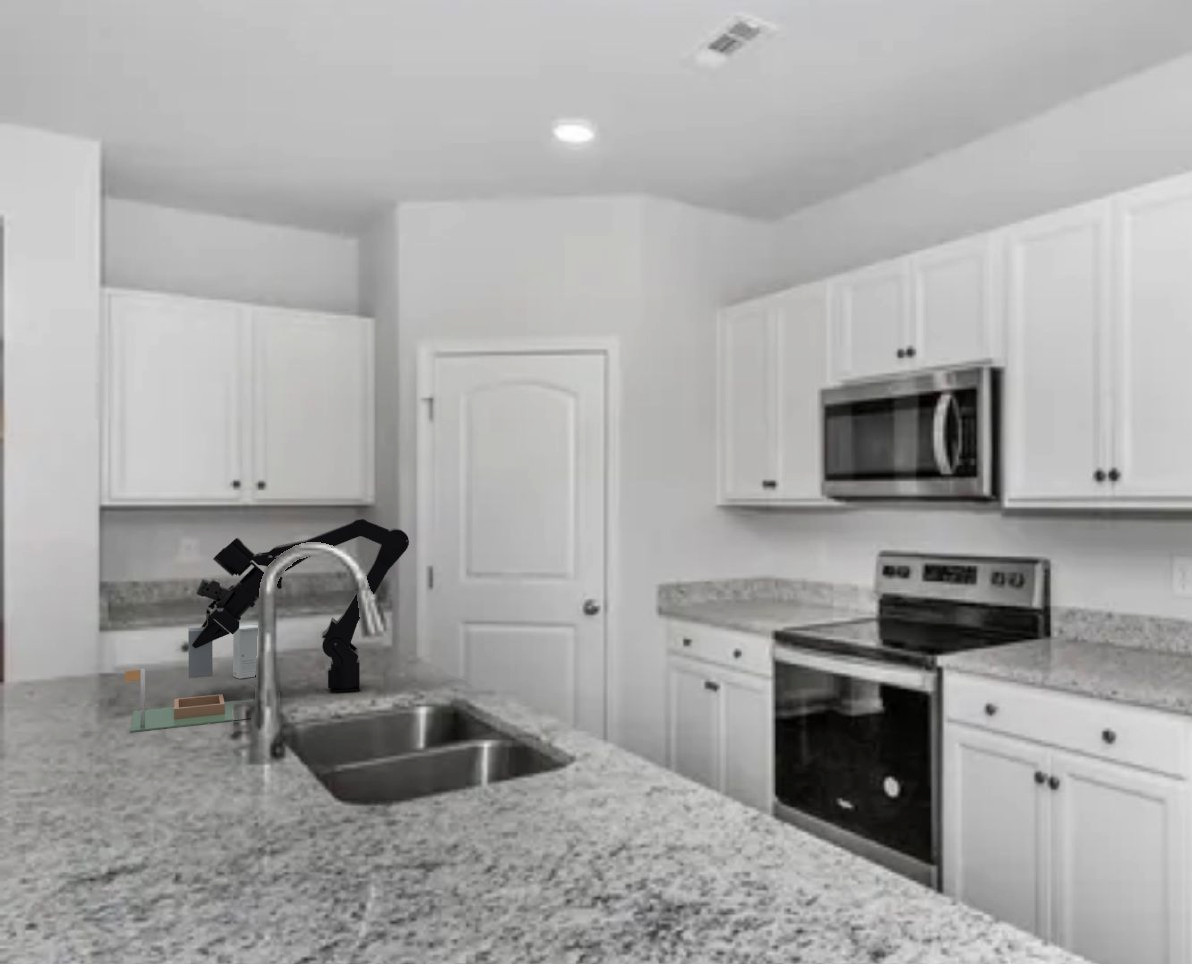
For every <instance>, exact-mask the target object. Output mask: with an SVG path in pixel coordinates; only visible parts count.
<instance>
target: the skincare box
mask: <svg viewBox="0 0 1192 964" xmlns="http://www.w3.org/2000/svg"><path fill="white" fill-rule="evenodd" d="M258 625H259V624H252V625H247V624H246V625H239V629H238V630H237V631H236V632H235V633H234V634H232V635H233V636H232V637H233V640H232V643H233V644H232V645H233V646H232V652H233V653H232V655H233V656H232V660H233V661H232V676H233V677H234V678H236V679H238V680H240V679H247V678H254V677H255V671H256V656H257V636H258ZM255 678H256V677H255Z"/></svg>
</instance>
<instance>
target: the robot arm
mask: <svg viewBox="0 0 1192 964" xmlns="http://www.w3.org/2000/svg"><path fill="white" fill-rule="evenodd" d="M359 537H362V538H365V539H367V540H369V541H371V542H374V543H376V544H378V545H379V547H378V550H377V552H376V555H375V558H374V561H373V563H372V564H371V567H370V568H369V570H368V571H367V573H366V575H365V576H367V580H368V583H369V586H370V589H371V591H372V592H373V594H374V595H375V594H376V592H377V590H378V588H379V587H380V585H381V583H382V582H383V581H384V578H385V577H386V575H387V573H388V571H389V570H390V569H391V568H392V567H393V566H394V565H395V563H396V562H397V561H398V560H399V559H400V558H401V557H402V556H403V554H404V553H405V552H406V551H407V549H408V548H409V545H410V540H409V536H408V535H407V533H406V532H405V531H403V530H402V529H399V528H391V529H389V528H386V527H384V526H380V525H378V524H375V523H373V522H370V521H368V520H367V519H365V518H362V517H358V518H356V519H354V520H353V521H351V522H348V523H345V524H343V525H341V526H339V527H336V528H333V529H331V530H328V531H325V532H322V533H321V534H318V535H316V536H313V537H310V538H308V539H305V540H299V541H294V542H290V543H284V544H280V545H276V546H275V547H273V548H271V549H270V550H269V551H265V552H261V551H260V552H258V553H254V552H253V551H252V550H251V549H250V548H248V547H247V545H245V544H244V542H243V541H242V540H241V539H240V538H239V537H236V538H235V539H234V540H232V541H231V542H230V543H229V544H228V545H227V546H225V547H224V548H222V549H221V550H220V551H219V552H218V553H217V554H216V555H215V556H214V557H213V559H212V560H213V561H214V562H215V563H217V565H219V566H220V567H221V568H222V569H223V570H225V571H226V573H228V574H229V575H230V576H231V577H234V575H236V576H239V577H241V576H242V575H243V574H244V573H245V572H246V571H247V570H248V569H249V568H250V567H251V566H253V567H252V568H251V569H250V570H249V571H248V572H247V573H246V574H245V575H244V576H243V577H242V578H241V579H240V580H239V581H237V583H236V584H231V585H230V586H229V587H228V588H227V587H225V586H222V585H220V582H219V581H215V580H214V579H212V580H211V581H209V580H207V579H203V578H202V579H201V582H200V584H199V586H198V588H197V590H196V592H195V594H196V595H197V596H199V597H202V598H203V597H205V598H208V599H210V600H211V601H209V603H207V607H208V608H209V609H208V608H206V610H205V614H206V615H205V619H204V622H203V623H202V624H201V626H200V627H205V628H204V629H203V630H202V632H201V633H200V634H199V636H198V637H197V638H196V640H195V641H194V643H193V644H192V646H193V647H194V648H198V647H200V646H202V645H205V644H207V643H209V642H211V641H212V642H214V641H216V640H218V639H220V638H223V637H226V636H228V635H230V634H231V635H234V633H235V632H236V631H237V630H238V629H239V626H240V621H241V619H242V617H243V616H244V614H245V613H247V611H248V610H250V608H253V607H254V606H255V605H256V602H257V601H258V600H259V599H260V598H259V588H260V582H261V579H262V576H263V574H264V571H263V570H262V569H261V568H260V567H259V566H261V567H268V565H269V564H270V563H271V562H272V561H273V560H274V559H276V558H277V557H278V556H279V555H280V554H281V553H283V552H284V551H286V550H288V549H290V548H292V547H293V546H295V545H299V544H301V543H306V542H321V543H326V544H329V545H333V546H334V547H336V546H339V545H342V544H344V543H346V542H349V541H351V540H354V539H356V538H359ZM310 557H311V556H309V557H306V558H303V559H299V560H297V561H296V562H294V563H293V564H292V566H290V567H288V568H287V569H286V570H285V572H287V571H288V570H290V569H292V568H294V567H296V566H297V565H298V564H300V563H302V562H303V561H306V559H308V558H310ZM279 577H280V579H279V581H278V584H277V587H276V588H277V589H278V590H280V589H282V587H283V586H282V583H283V582H282V581H283V577H282V576H279ZM360 620H361V618H360V617H359V608H358V601H357V594H356V592H355V593H354V596H353V597H352V599H351V600H350V602H349V604H348V606H347V607H346V609H345V610H344V612H343V614H342V615H341V616H340V617H339V618H338V619H335V618H334V617H331V619H330V622H329V624H328V626H327V628H326V629H325V630H324V631H323V632H322V634H321V635H322V636H321V638H322V639H323V640H322V651H323V653H324V654H325V655H326V657H328V658H331V661H330V667H328V668H327V688H328V690H329V689H330V691H329V693H332V694H333V693H344V692H359V691H361V685H360V684H361V683H360V674H361V672H360V667H361V664H360V659H359V648H357V647H356V645H354V644H353V643H352V640H353V638H354V635H355V631H356V629H357V625H358V623H359V622H360Z"/></svg>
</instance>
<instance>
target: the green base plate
mask: <svg viewBox="0 0 1192 964" xmlns="http://www.w3.org/2000/svg"><path fill="white" fill-rule="evenodd" d="M138 681H139V682H140V684H139V685H140V687H139V688H140V693H139V694H140V697H139V698H140V701H139V702H140V705H139V707H140V710H134V711H133V714H132V719H131V720H132V721H131V725H130V733H135V732H137V733H138V732H146V731H154V730H155V731H156V730H163V729H164V728H166V729H173V728H172V727H175V728H179V727H178V726H184V727H191V726H201V724H202V725H207V724H208V723H211V724H218V723H217V722H220V723H225V722H224V721H229V722H233V721H232V720H233V718H232V717H233V715H232V709H233V706H234V704H235V703H239V702H251V701H253V699H254V698H251V699H242V700H241V699H240V700H231V701H225V699H224V696H223V694H222V693H220V694H209V695H202V696H201V695H200V696H193V697H192V696H191V697H190V696H189V697H180V698H179V697H178V698H174V700H173V706H171V707H170V706H169V707H163V708H151V709H146V669H145V668H140V669H135V670H125V671H124V683H125V682H126V683H127V682H128V683H129V682H138ZM208 725H209V724H208ZM164 730H165V729H164Z"/></svg>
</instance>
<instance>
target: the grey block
mask: <svg viewBox="0 0 1192 964" xmlns="http://www.w3.org/2000/svg"><path fill="white" fill-rule="evenodd" d="M204 628H205V627H201V626H200V627H188V628H187V629H188V636H187V637H188V638H187V639H188V640H187V641H188V679H198V678H207V677H213V674H214V673H213V641H211V642H209V643H207V644H205V645H202V646H200V647H198V648H194V647H193V646H192V644H193V643H194V641H195V640H196V638H197V637H198V636H199V634H200V633H201V632H202V630H203V629H204Z"/></svg>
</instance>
